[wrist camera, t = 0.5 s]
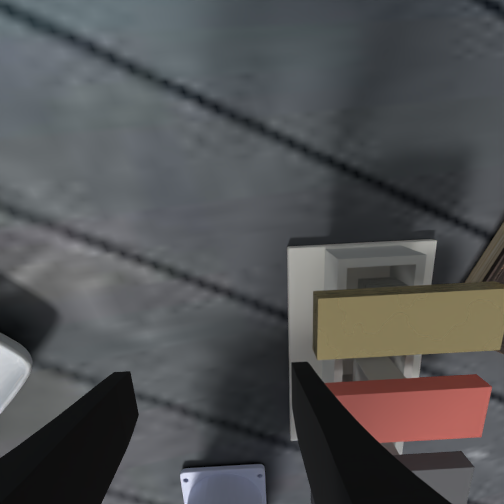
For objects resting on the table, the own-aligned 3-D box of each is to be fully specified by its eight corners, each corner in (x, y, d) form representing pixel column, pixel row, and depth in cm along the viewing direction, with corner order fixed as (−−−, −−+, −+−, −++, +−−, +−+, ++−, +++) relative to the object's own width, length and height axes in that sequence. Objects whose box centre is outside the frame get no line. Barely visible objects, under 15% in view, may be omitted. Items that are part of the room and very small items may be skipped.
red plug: (433, 386, 19) (480, 436, 15) (301, 393, 19) (315, 446, 15) (439, 344, 18) (492, 386, 14) (301, 352, 18) (316, 397, 14)
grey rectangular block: (423, 448, 20) (465, 508, 17) (301, 455, 20) (314, 517, 17) (429, 412, 20) (474, 467, 16) (301, 419, 20) (315, 476, 16)
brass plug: (444, 314, 18) (500, 350, 14) (301, 322, 17) (317, 360, 14) (451, 265, 17) (513, 288, 13) (301, 273, 17) (318, 298, 13)
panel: (407, 427, 23) (433, 466, 20) (289, 434, 23) (296, 475, 20) (431, 238, 19) (469, 249, 16) (286, 246, 19) (295, 258, 16)
